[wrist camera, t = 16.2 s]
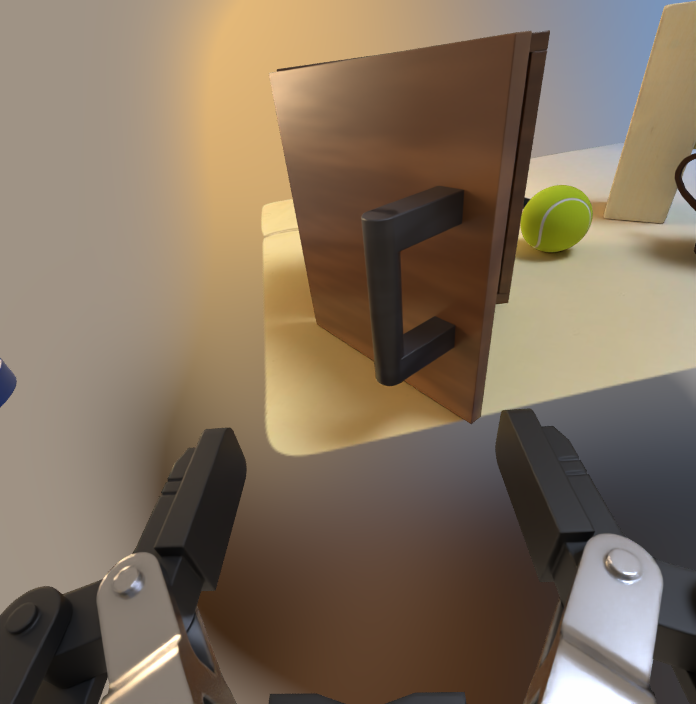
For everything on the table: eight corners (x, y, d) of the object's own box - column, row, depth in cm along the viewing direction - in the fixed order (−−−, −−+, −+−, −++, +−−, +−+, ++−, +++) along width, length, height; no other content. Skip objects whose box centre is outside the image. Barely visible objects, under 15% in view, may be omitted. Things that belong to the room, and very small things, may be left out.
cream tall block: (672, 225, 46) (765, -12, 34) (601, 219, 50) (662, 4, 38) (676, 205, 51) (759, -9, 39) (612, 201, 55) (668, 6, 42)
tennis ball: (508, 242, 48) (516, 182, 43) (566, 235, 47) (580, 174, 43) (529, 265, 42) (541, 199, 38) (595, 258, 42) (614, 191, 37)
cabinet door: (413, 471, 23) (406, 45, 11) (268, 347, 35) (191, 83, 23) (480, 416, 25) (532, 30, 14) (324, 319, 37) (281, 71, 26)
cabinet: (508, 302, 36) (550, 30, 25) (321, 318, 38) (276, 69, 26) (476, 253, 46) (495, 40, 34) (328, 267, 48) (297, 68, 36)
